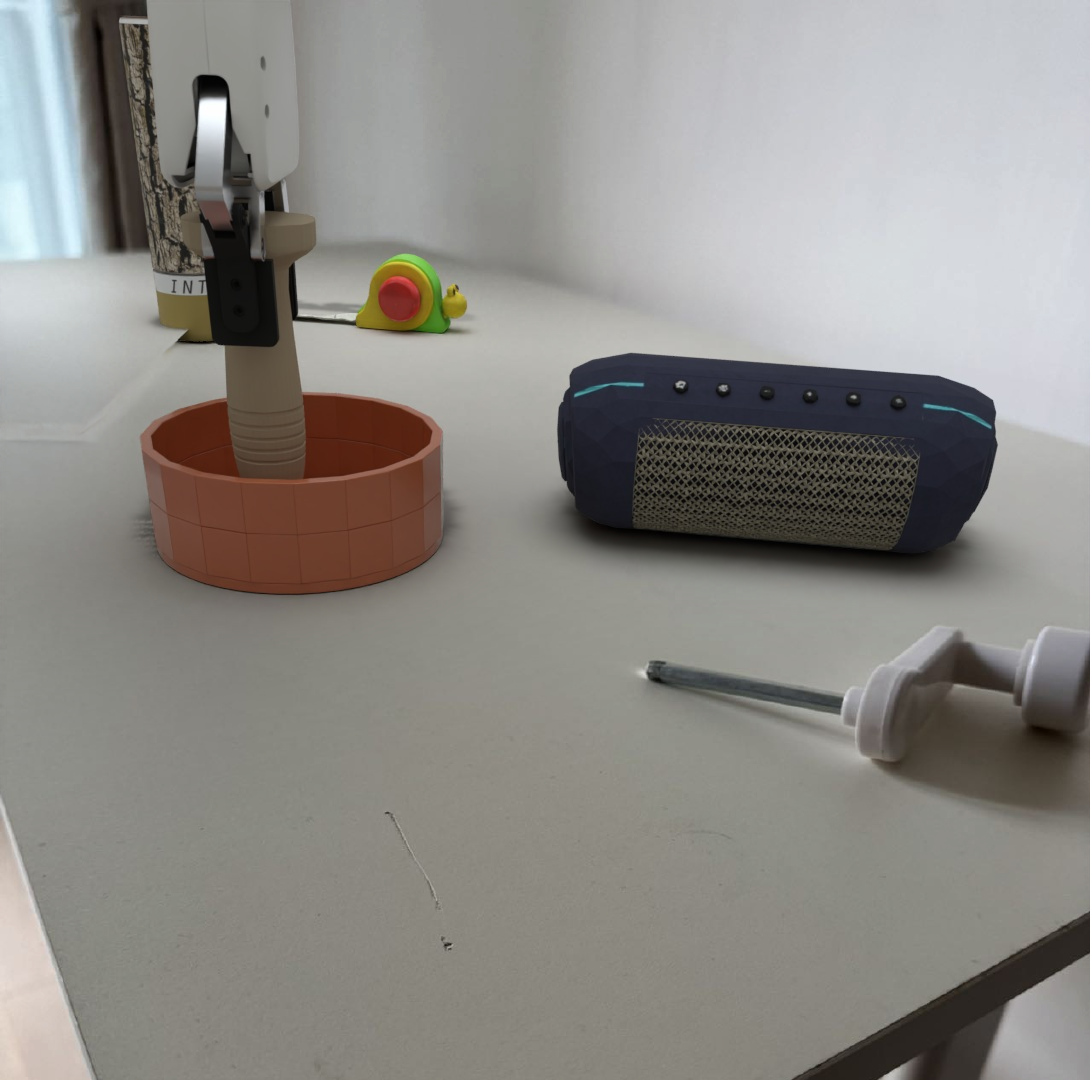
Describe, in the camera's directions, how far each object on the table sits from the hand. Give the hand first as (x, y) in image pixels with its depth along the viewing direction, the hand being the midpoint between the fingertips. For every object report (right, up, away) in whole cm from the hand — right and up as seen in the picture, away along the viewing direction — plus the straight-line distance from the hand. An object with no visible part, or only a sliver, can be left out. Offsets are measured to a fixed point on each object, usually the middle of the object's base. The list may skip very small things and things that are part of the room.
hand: (257, 327), depth 58 cm
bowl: (+1, -9, +7) cm, 12 cm away
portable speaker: (+28, -9, +10) cm, 31 cm away
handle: (0, -8, +5) cm, 10 cm away
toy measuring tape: (-2, +19, +53) cm, 57 cm away
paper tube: (-17, +16, +47) cm, 52 cm away
